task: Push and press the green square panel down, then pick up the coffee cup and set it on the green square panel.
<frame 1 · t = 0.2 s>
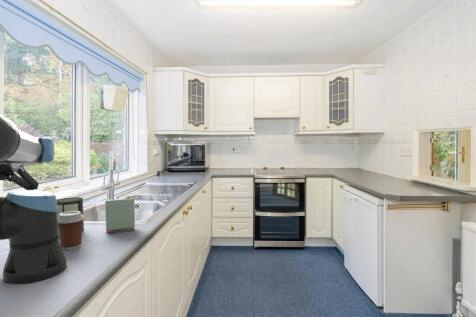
hand: (8, 203, 107), 15 cm above the counter, tool tilted 35°, fingers open, 13 cm apart
coffee can: (70, 234, 122), on the counter
coffee cup: (71, 246, 108), on the counter
green square panel: (120, 213, 124), point 8 cm above the counter, hinge at 0.0°
cab: (120, 230, 126), on the counter
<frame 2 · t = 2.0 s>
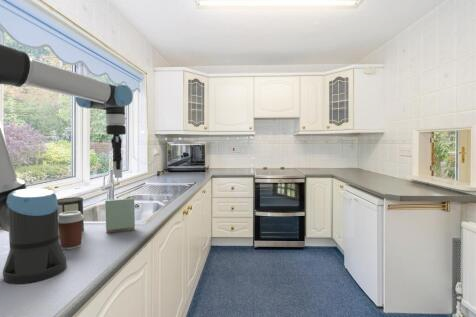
hand: (117, 175, 127), 23 cm above the counter, tool pointing down, fingers open, 13 cm apart
nothing on the counter moved.
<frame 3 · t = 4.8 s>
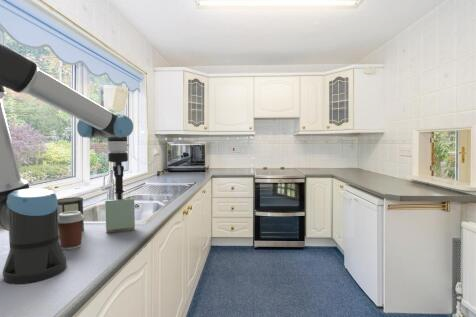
hand: (119, 208, 126), 9 cm above the counter, tool pointing down, fingers closed
green square panel: (120, 214, 124), point 7 cm above the counter, hinge at 1.3°, touching gripper
everything else where it was.
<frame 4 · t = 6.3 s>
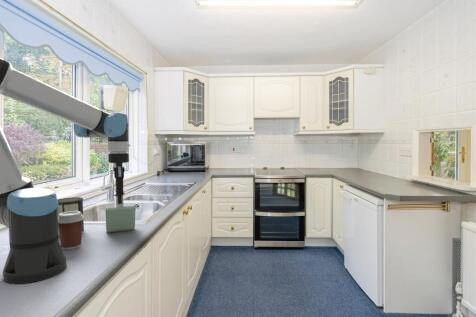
hand: (120, 211, 121), 9 cm above the counter, tool pointing down, fingers closed
green square panel: (120, 218, 121), point 6 cm above the counter, hinge at 32.8°, touching gripper
everything else where it was.
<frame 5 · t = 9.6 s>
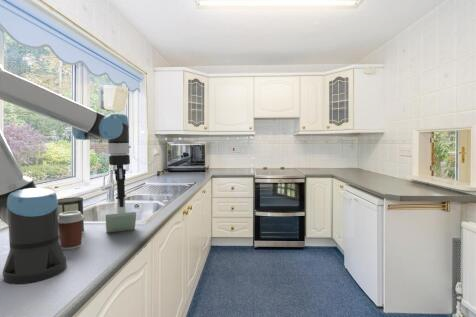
hand: (121, 214, 118), 9 cm above the counter, tool pointing down, fingers closed
green square panel: (120, 222, 120), point 5 cm above the counter, hinge at 47.7°, touching gripper
everything else where it was.
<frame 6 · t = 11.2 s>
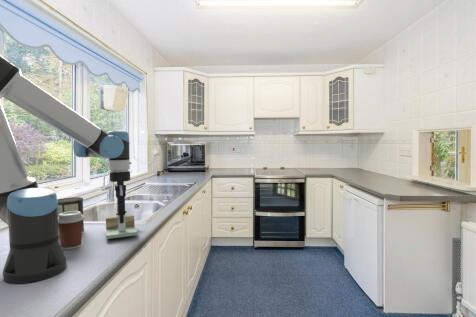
hand: (121, 230, 119), 2 cm above the counter, tool pointing down, fingers closed
green square panel: (121, 232, 119), point 1 cm above the counter, hinge at 85.7°, touching gripper
everything else where it was.
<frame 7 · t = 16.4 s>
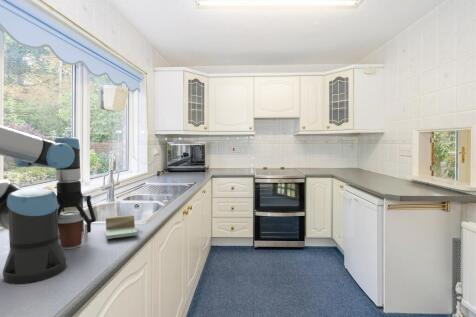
hand: (71, 243, 108), 1 cm above the counter, tool pointing down, fingers closed on coffee cup, 9 cm apart
coffee cup: (71, 246, 108), on the counter, touching gripper
green square panel: (121, 232, 119), point 1 cm above the counter, hinge at 85.7°
everything else where it was.
when the fingers open (4 cm above the counter, at t = 24.0 s): coffee cup drops 1 cm, resting on green square panel.
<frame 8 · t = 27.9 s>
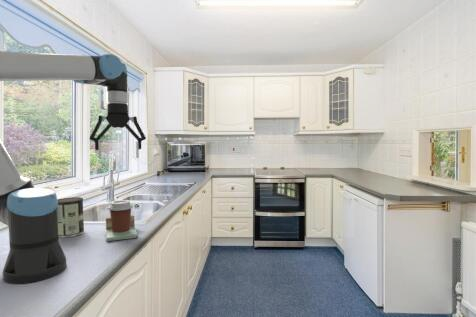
hand: (119, 158, 118), 31 cm above the counter, tool pointing down, fingers open, 13 cm apart
coffee cup: (121, 232, 119), point 1 cm above the counter, touching green square panel
green square panel: (121, 233, 120), point 1 cm above the counter, hinge at 90.0°, touching coffee cup
everything else where it was.
at the end: green square panel at +90° (first picture: +0°); coffee cup tilted 0° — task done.
